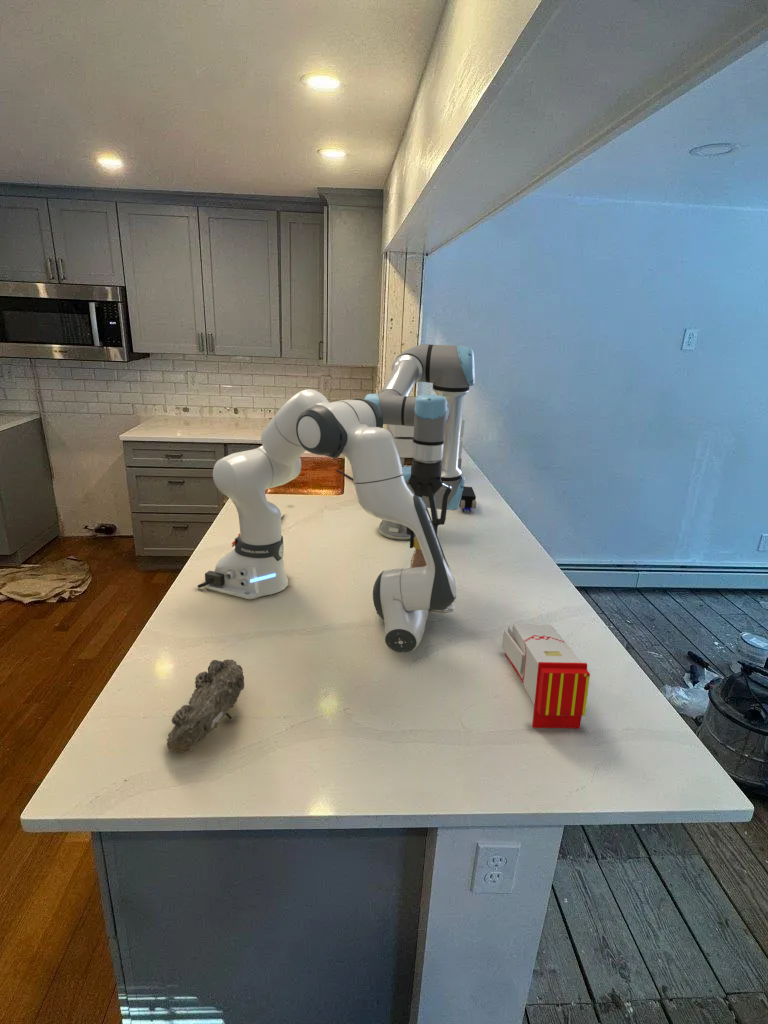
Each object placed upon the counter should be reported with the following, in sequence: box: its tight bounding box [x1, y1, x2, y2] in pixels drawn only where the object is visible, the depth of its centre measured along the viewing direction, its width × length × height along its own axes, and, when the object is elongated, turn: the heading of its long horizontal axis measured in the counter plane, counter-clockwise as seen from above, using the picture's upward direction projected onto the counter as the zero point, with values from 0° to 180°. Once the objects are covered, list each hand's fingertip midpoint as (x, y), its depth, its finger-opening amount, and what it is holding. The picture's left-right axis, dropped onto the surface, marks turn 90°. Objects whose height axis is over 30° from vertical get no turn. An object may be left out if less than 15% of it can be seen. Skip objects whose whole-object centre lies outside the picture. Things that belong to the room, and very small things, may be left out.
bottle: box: [409, 548, 427, 568], centre depth 150 cm, size 5×5×18 cm
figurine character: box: [458, 485, 477, 514], centre depth 227 cm, size 7×8×15 cm
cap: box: [413, 536, 421, 550], centre depth 146 cm, size 4×4×2 cm
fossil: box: [166, 658, 245, 754], centre depth 106 cm, size 22×10×15 cm
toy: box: [501, 623, 591, 729], centre depth 120 cm, size 12×13×30 cm
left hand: (418, 582), depth 151 cm, fingers closed on bottle, 5 cm apart
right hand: (420, 546), depth 147 cm, fingers closed on cap, 4 cm apart
